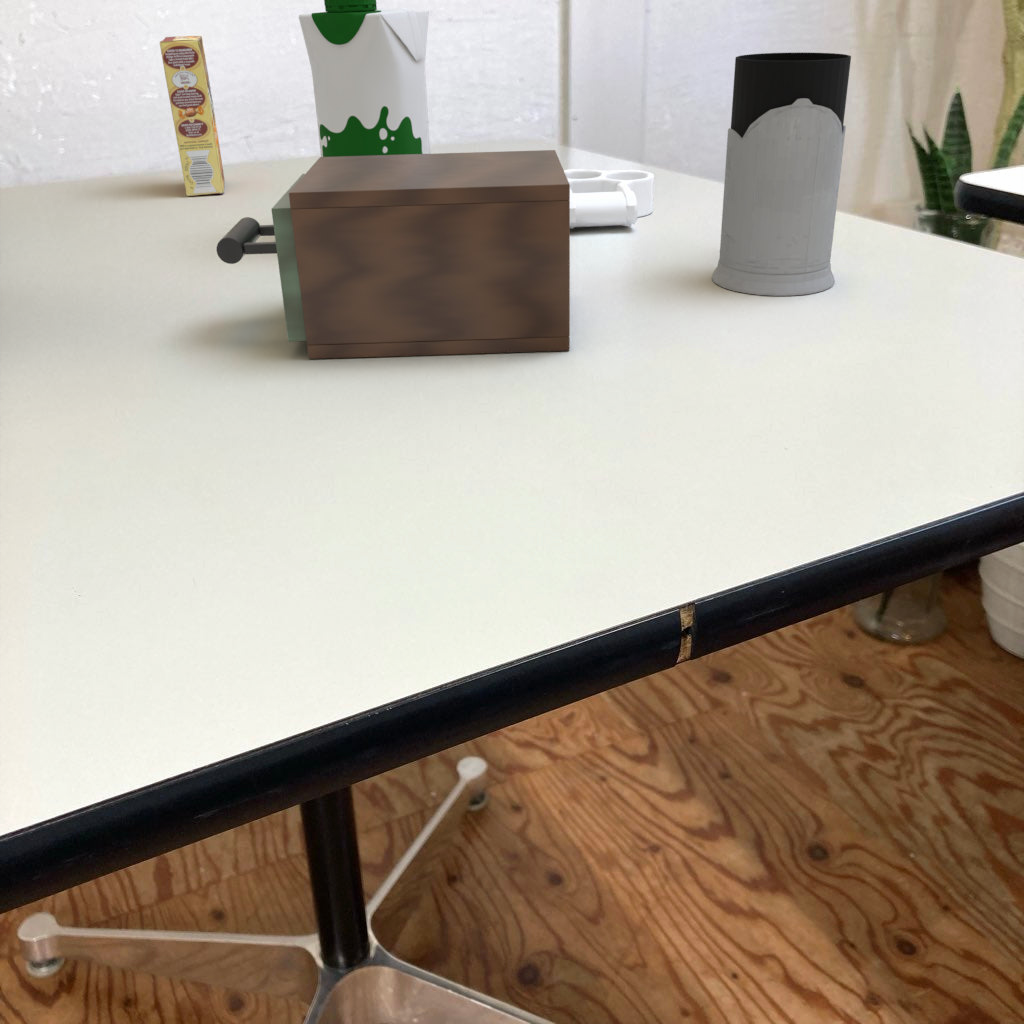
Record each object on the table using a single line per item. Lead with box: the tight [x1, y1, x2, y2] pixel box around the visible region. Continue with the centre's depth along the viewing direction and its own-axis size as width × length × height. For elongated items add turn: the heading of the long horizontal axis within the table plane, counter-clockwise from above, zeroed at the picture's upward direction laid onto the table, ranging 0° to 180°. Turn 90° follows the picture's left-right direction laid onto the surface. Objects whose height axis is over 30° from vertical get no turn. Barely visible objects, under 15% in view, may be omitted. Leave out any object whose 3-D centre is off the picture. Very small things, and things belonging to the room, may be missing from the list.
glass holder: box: [711, 52, 852, 297], centre depth 75 cm, size 9×14×15 cm, turn 179°
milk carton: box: [298, 0, 431, 157], centre depth 87 cm, size 9×9×20 cm
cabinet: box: [289, 149, 571, 360], centre depth 66 cm, size 16×13×10 cm
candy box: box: [159, 35, 225, 197], centre depth 112 cm, size 9×4×15 cm, turn 14°
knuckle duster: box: [563, 168, 655, 230], centre depth 96 cm, size 3×18×15 cm
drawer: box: [216, 173, 306, 342], centre depth 66 cm, size 19×12×8 cm, turn 92°
